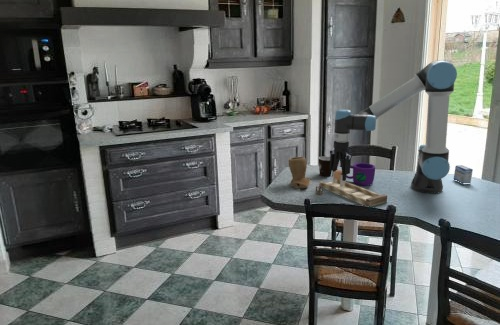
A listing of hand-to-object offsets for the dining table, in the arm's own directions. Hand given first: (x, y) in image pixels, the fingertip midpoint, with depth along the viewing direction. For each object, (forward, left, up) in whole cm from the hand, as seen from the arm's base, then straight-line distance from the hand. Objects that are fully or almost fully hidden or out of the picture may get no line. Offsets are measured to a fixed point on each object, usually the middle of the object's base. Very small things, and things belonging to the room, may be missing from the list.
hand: (338, 184), depth 202 cm
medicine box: (-28, -64, -3) cm, 70 cm away
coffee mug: (+22, -11, -3) cm, 25 cm away
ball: (0, 0, +5) cm, 5 cm away
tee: (0, +13, -2) cm, 13 cm away
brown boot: (+16, +13, -3) cm, 21 cm away
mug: (+2, -16, -3) cm, 16 cm away
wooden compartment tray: (-9, 0, -2) cm, 9 cm away
